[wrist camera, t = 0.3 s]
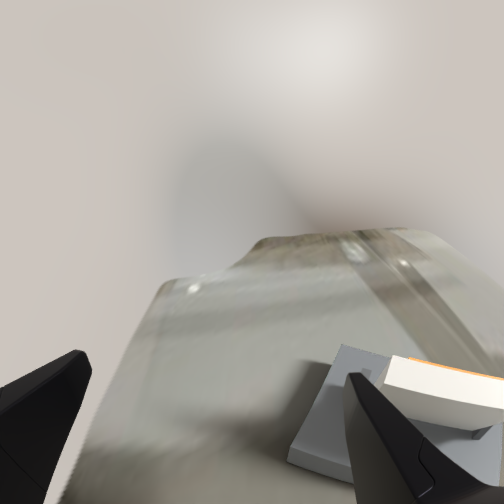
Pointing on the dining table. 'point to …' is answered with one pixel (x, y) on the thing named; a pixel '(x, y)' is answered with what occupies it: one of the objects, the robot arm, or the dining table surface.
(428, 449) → the robot arm
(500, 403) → the panel
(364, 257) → the dining table surface
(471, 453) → the base
